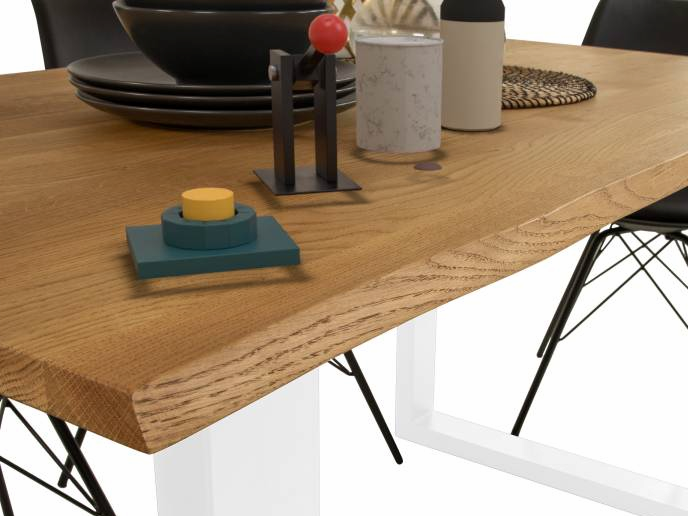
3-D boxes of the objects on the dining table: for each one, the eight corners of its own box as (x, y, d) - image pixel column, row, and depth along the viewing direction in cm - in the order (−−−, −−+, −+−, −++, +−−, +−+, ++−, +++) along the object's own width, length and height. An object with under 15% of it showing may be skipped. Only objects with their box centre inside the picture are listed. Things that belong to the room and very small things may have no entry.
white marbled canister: (449, 161, 109) (451, 44, 104) (361, 162, 107) (360, 44, 103) (432, 143, 117) (434, 35, 113) (350, 144, 116) (349, 34, 111)
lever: (354, 46, 81) (349, 7, 81) (316, 46, 80) (310, 7, 80) (319, 93, 93) (314, 59, 93) (284, 94, 92) (280, 60, 92)
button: (186, 226, 70) (185, 201, 69) (179, 212, 73) (178, 189, 72) (238, 221, 71) (237, 197, 71) (229, 209, 74) (228, 186, 74)
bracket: (362, 200, 92) (361, 57, 88) (275, 206, 89) (270, 59, 85) (333, 176, 101) (330, 45, 96) (253, 181, 98) (247, 46, 94)
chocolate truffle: (438, 173, 103) (438, 158, 103) (445, 180, 100) (446, 164, 100) (409, 174, 102) (409, 159, 102) (416, 181, 100) (417, 165, 99)
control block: (139, 293, 67) (134, 236, 66) (127, 254, 75) (123, 203, 74) (300, 277, 71) (299, 222, 70) (273, 242, 79) (271, 192, 78)
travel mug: (464, 134, 123) (469, -20, 117) (425, 124, 129) (427, -23, 123) (513, 128, 128) (519, -21, 122) (473, 118, 134) (477, -24, 127)
